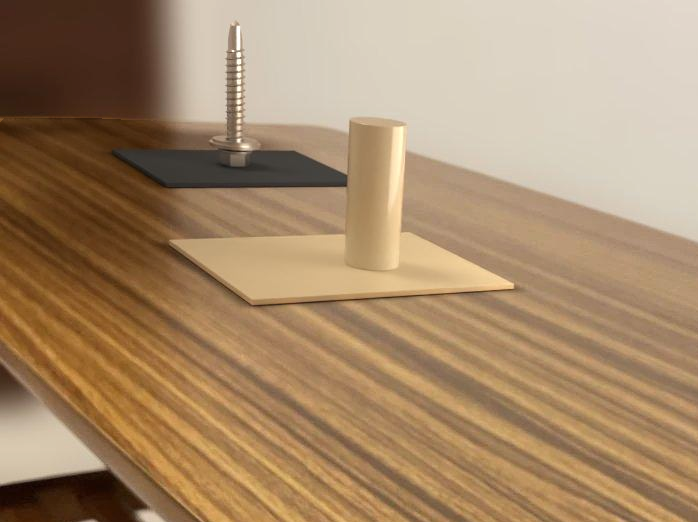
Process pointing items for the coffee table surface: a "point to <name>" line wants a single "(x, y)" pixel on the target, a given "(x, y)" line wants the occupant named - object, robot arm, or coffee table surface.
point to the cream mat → (330, 269)
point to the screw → (235, 107)
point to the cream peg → (374, 193)
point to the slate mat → (230, 169)
